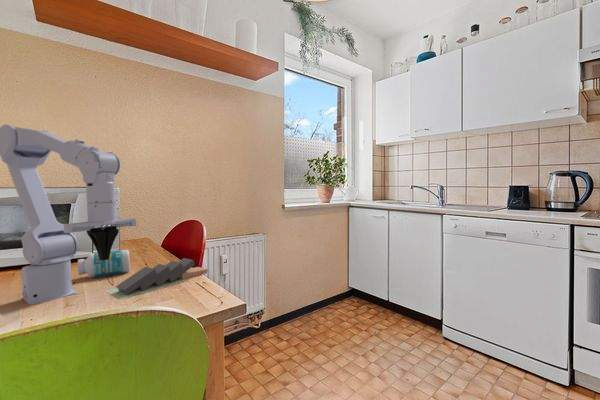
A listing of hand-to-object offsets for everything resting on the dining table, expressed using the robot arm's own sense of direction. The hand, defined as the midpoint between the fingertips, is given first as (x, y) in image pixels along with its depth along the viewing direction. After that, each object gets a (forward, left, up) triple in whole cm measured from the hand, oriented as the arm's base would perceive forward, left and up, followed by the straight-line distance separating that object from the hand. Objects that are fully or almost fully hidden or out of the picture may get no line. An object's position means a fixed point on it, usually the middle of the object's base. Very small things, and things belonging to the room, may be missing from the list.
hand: (104, 259), depth 71 cm
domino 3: (+12, +2, -9) cm, 15 cm away
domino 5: (+20, +2, -9) cm, 22 cm away
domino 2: (+8, +2, -9) cm, 12 cm away
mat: (+12, +3, -10) cm, 16 cm away
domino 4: (+16, +2, -9) cm, 19 cm away
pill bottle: (+16, +23, -7) cm, 29 cm away
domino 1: (+4, +2, -9) cm, 10 cm away
